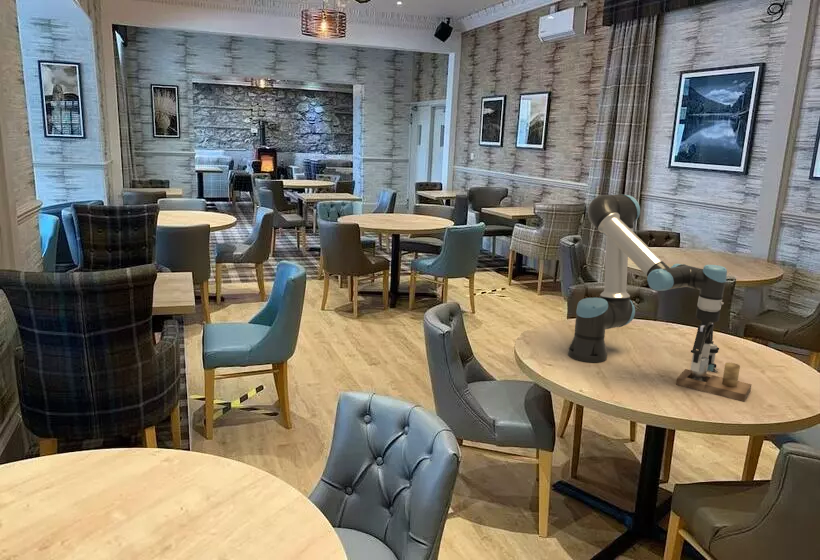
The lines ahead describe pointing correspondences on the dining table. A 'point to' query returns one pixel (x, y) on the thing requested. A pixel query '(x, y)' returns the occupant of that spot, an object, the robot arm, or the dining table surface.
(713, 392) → the jig
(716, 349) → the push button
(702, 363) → the tan grey cylinder
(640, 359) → the dining table surface
